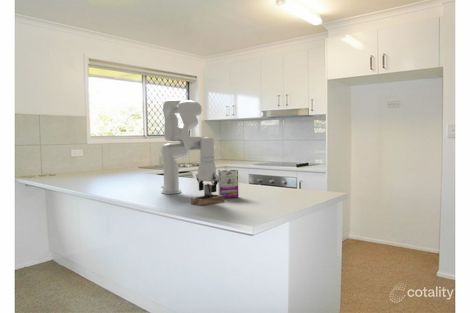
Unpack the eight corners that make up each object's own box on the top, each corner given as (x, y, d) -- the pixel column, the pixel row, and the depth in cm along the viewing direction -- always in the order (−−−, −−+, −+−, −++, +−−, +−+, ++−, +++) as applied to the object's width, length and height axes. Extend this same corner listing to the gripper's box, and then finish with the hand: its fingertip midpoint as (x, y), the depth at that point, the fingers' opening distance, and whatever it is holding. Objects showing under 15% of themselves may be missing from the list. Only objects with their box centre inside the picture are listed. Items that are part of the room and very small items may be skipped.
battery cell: (202, 201, 187) (202, 183, 186) (208, 200, 190) (207, 183, 189) (208, 202, 184) (207, 184, 183) (213, 201, 187) (213, 183, 186)
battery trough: (191, 203, 184) (191, 198, 183) (212, 199, 196) (212, 194, 196) (202, 205, 178) (202, 200, 178) (224, 200, 190) (224, 195, 190)
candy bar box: (236, 196, 205) (236, 169, 204) (238, 197, 200) (238, 169, 199) (218, 197, 202) (217, 169, 201) (220, 198, 197) (219, 170, 196)
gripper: (191, 159, 188) (191, 190, 190) (214, 161, 177) (214, 193, 178) (201, 158, 194) (201, 188, 195) (223, 160, 183) (223, 192, 184)
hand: (207, 191), depth 187 cm, fingers open, 9 cm apart
